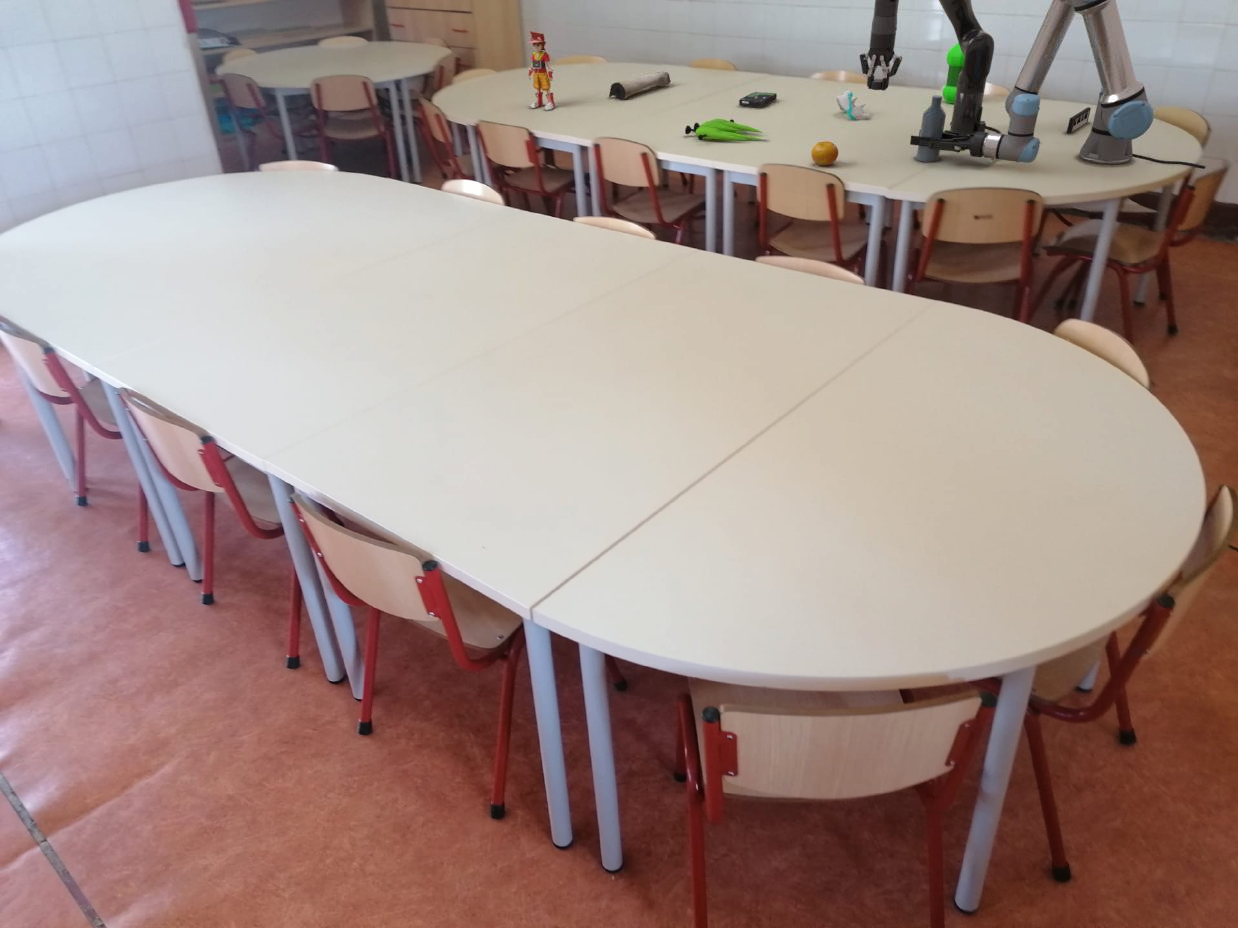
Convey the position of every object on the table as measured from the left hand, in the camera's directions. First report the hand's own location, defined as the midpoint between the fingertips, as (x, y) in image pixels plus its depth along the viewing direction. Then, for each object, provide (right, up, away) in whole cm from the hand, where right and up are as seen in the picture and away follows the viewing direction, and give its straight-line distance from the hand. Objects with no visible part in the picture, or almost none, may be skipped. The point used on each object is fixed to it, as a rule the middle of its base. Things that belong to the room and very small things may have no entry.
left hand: (877, 89), depth 288 cm
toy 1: (-116, +32, +95) cm, 153 cm away
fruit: (-15, -21, +10) cm, 27 cm away
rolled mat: (-73, +44, +109) cm, 139 cm away
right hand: (+15, -13, +8) cm, 21 cm away
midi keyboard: (+79, -2, +29) cm, 84 cm away
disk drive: (-26, +28, +82) cm, 90 cm away
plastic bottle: (+50, +23, +67) cm, 87 cm away
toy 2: (-43, 0, +43) cm, 61 cm away
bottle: (+19, -19, +9) cm, 29 cm away
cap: (0, +2, -1) cm, 2 cm away
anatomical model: (+6, +14, +58) cm, 61 cm away
